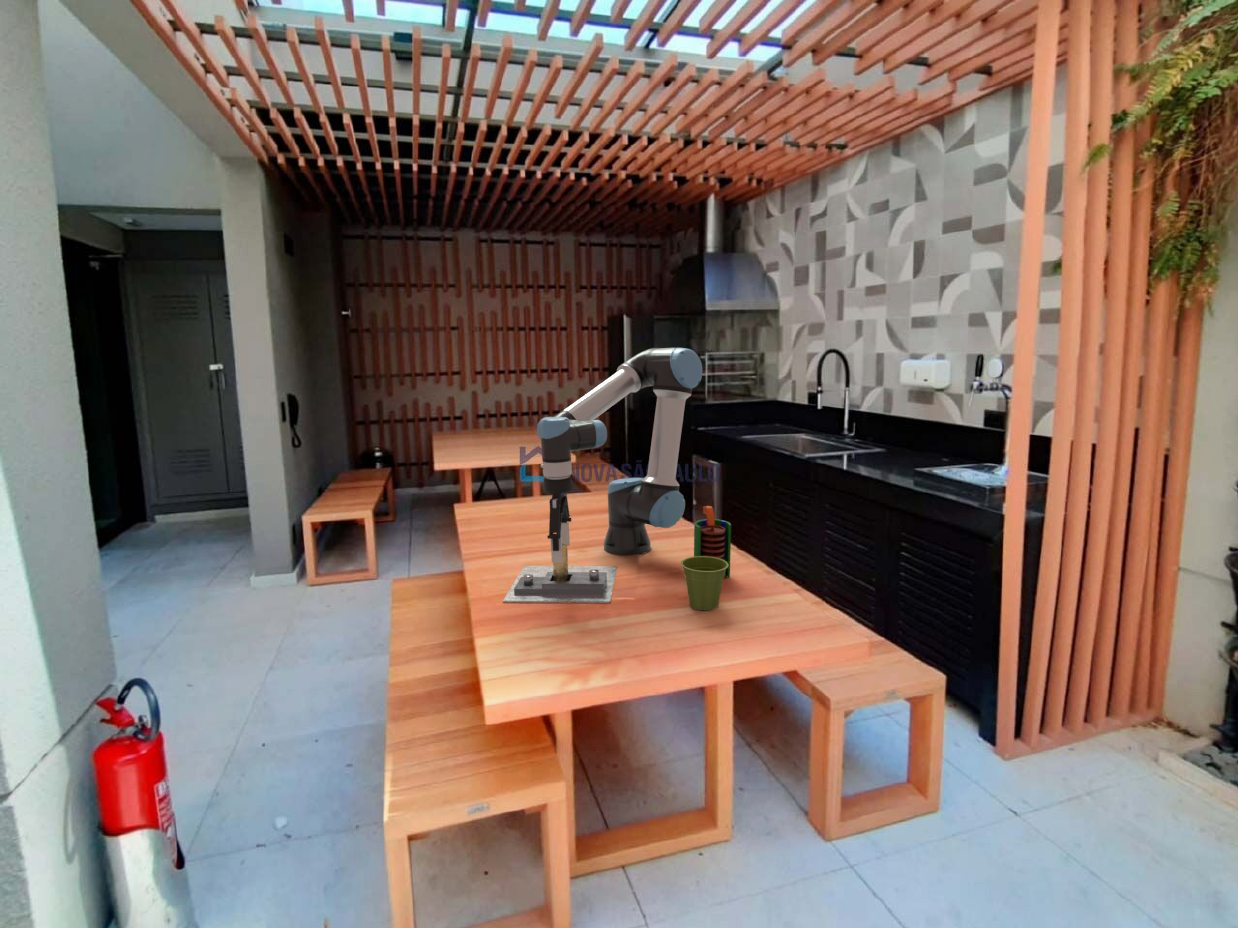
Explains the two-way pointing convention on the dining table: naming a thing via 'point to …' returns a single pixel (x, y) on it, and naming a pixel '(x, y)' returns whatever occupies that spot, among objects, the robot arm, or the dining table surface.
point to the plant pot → (704, 580)
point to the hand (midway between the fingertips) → (561, 553)
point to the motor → (713, 538)
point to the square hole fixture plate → (563, 585)
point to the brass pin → (561, 566)
